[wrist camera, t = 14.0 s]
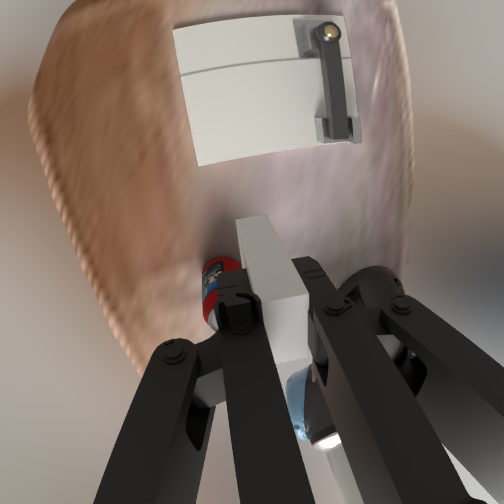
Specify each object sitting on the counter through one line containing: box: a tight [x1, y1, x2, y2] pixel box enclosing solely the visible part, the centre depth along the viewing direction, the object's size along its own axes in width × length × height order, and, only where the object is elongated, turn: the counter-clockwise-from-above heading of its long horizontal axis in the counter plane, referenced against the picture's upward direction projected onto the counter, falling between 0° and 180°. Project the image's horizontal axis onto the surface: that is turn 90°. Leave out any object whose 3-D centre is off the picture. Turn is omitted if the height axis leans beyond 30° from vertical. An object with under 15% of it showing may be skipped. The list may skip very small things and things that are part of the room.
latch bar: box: [314, 22, 349, 140], centre depth 33 cm, size 16×3×2 cm, turn 7°
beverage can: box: [202, 257, 242, 332], centre depth 44 cm, size 7×7×12 cm
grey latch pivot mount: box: [292, 20, 334, 59], centre depth 32 cm, size 6×6×3 cm
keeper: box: [314, 115, 362, 144], centre depth 38 cm, size 4×5×5 cm
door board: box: [173, 15, 358, 166], centre depth 36 cm, size 20×24×1 cm
